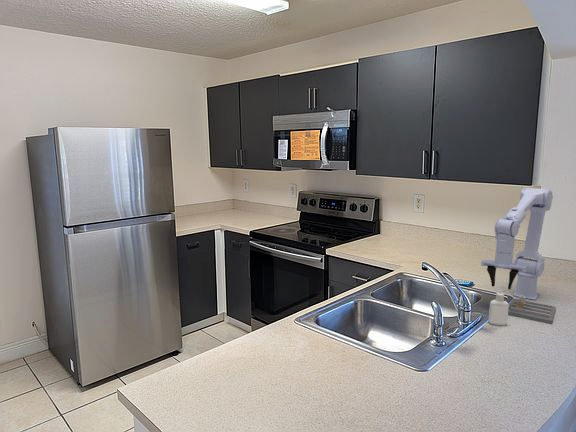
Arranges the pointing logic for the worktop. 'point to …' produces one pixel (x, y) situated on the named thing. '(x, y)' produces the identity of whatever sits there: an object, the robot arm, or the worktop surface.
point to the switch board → (533, 311)
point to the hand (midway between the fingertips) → (501, 287)
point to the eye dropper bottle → (498, 310)
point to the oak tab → (519, 304)
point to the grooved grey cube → (522, 298)
